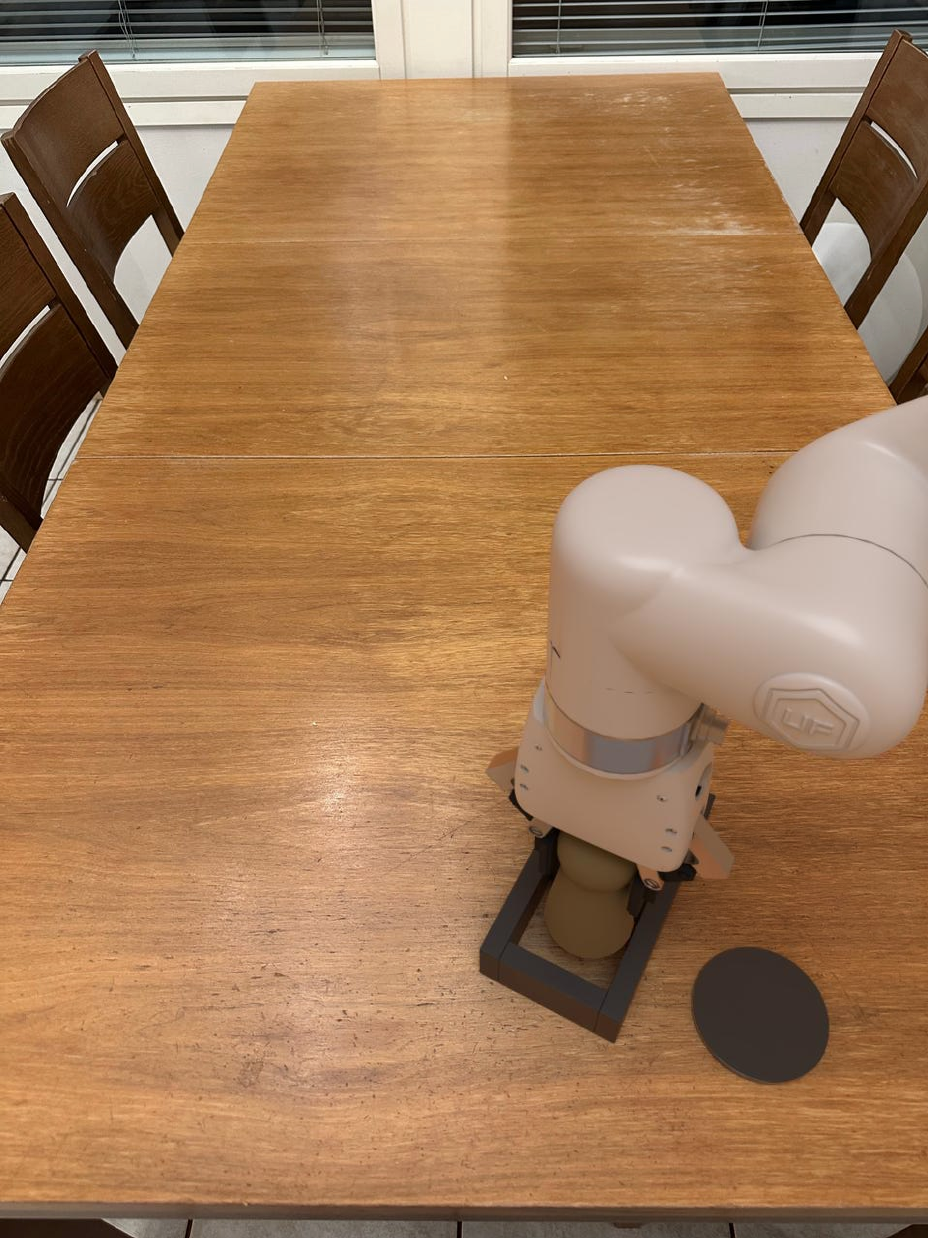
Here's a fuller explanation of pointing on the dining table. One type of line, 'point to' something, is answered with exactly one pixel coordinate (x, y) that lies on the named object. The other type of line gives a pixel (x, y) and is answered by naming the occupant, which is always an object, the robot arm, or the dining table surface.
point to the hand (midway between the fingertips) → (596, 874)
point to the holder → (557, 984)
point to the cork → (589, 899)
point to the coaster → (760, 1015)
